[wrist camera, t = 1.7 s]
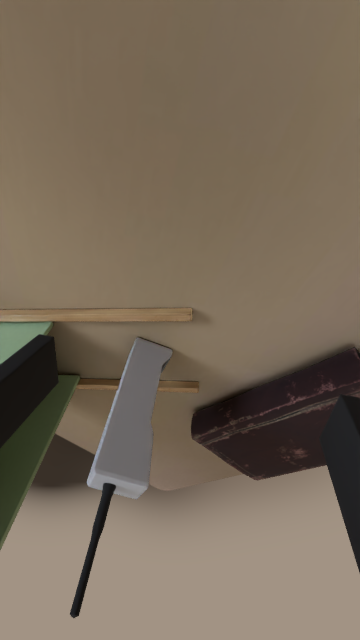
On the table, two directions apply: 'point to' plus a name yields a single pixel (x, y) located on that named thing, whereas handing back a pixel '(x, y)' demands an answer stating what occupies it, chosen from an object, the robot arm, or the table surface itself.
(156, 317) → the rails
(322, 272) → the table surface
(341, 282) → the table surface
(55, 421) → the tall green pillar
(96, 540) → the vintage mobile phone
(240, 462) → the diary
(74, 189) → the table surface
